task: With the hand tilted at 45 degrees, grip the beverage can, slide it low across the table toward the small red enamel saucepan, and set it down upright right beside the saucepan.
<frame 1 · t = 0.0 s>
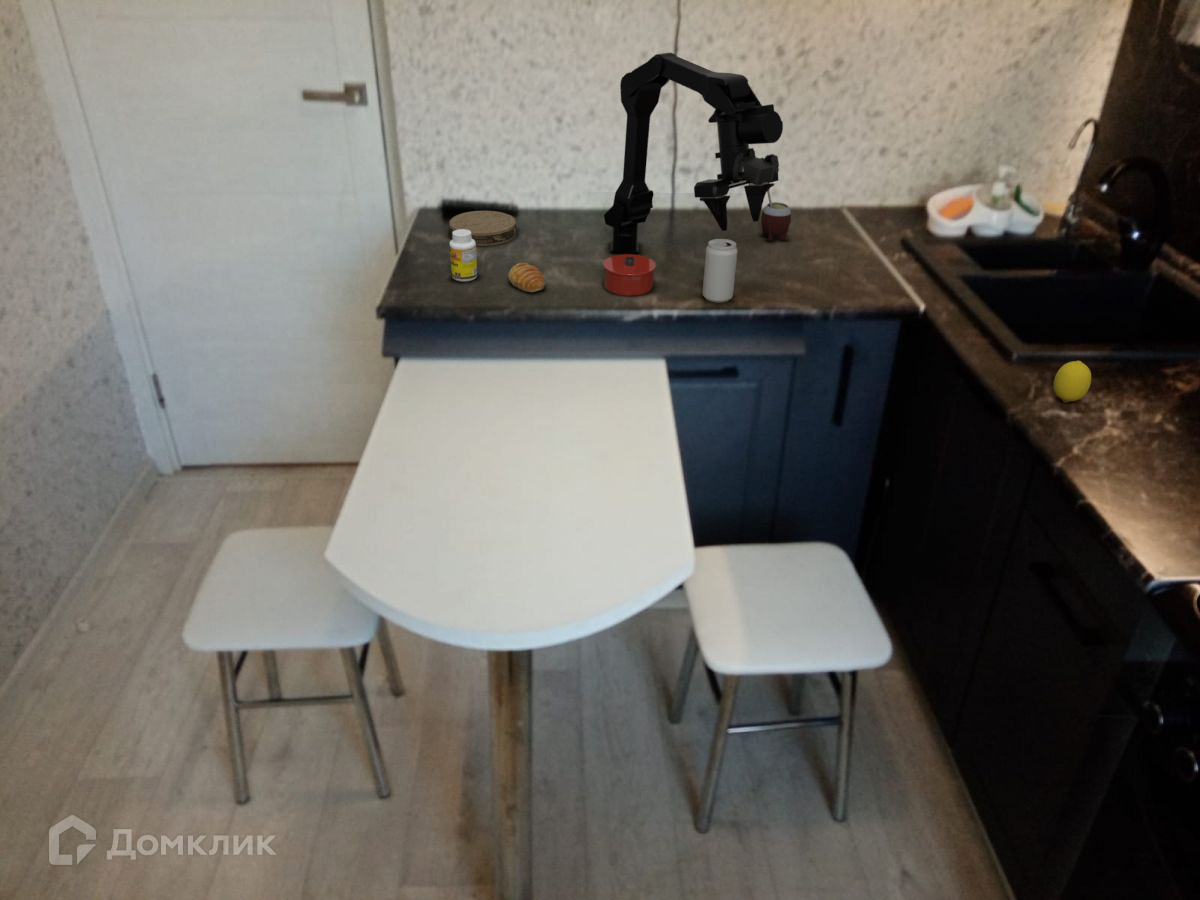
hand: (740, 226, 183), 15 cm above the worktop, tool pointing down, fingers open, 9 cm apart
pot: (628, 285, 196), on the worktop
supplement bottle: (464, 278, 198), on the worktop
beverage can: (717, 298, 191), on the worktop
mate gourd: (771, 239, 221), on the worktop
pastry: (528, 285, 195), on the worktop
lemon: (1064, 403, 158), on the worktop
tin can: (483, 234, 220), on the worktop
pot lid: (629, 265, 193), point 4 cm above the worktop, touching pot
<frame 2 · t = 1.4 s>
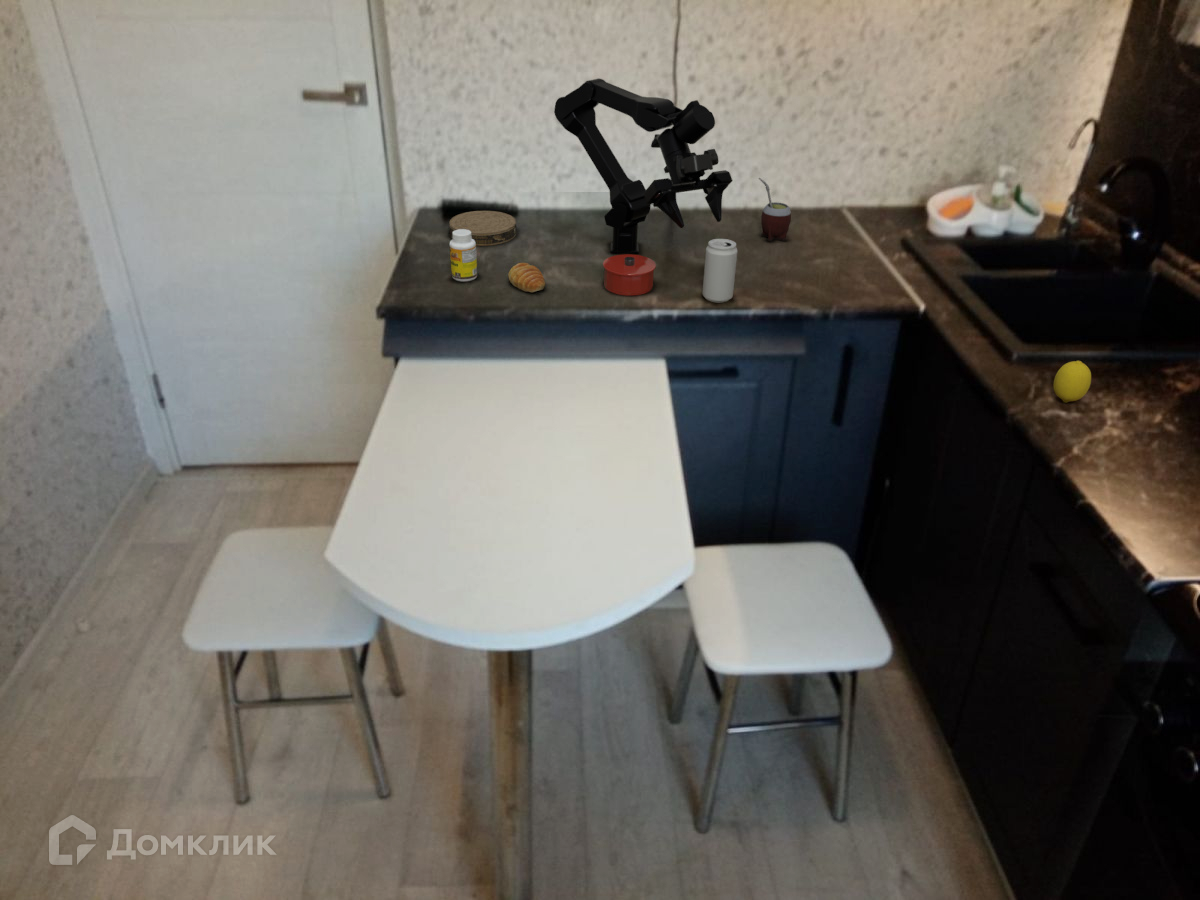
hand: (701, 224, 190), 13 cm above the worktop, tool tilted 45°, fingers open, 9 cm apart
nothing on the worktop moved.
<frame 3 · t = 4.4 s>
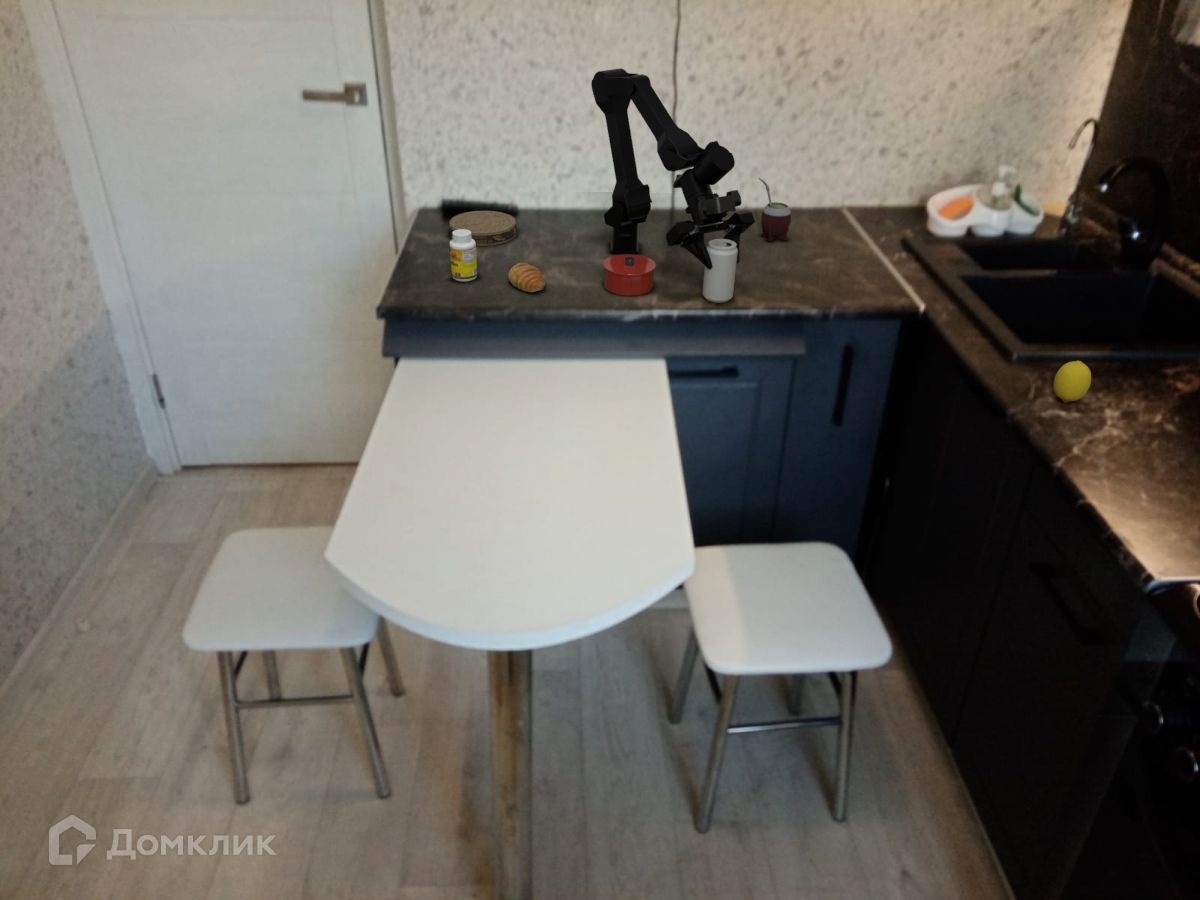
hand: (724, 266, 186), 8 cm above the worktop, tool tilted 45°, fingers closed on beverage can, 6 cm apart
beverage can: (717, 298, 191), on the worktop, touching gripper
everything else where it was.
when the fingers open (8 cm above the worktop, at t = 8.0 s): beverage can stays where it is, on the worktop.
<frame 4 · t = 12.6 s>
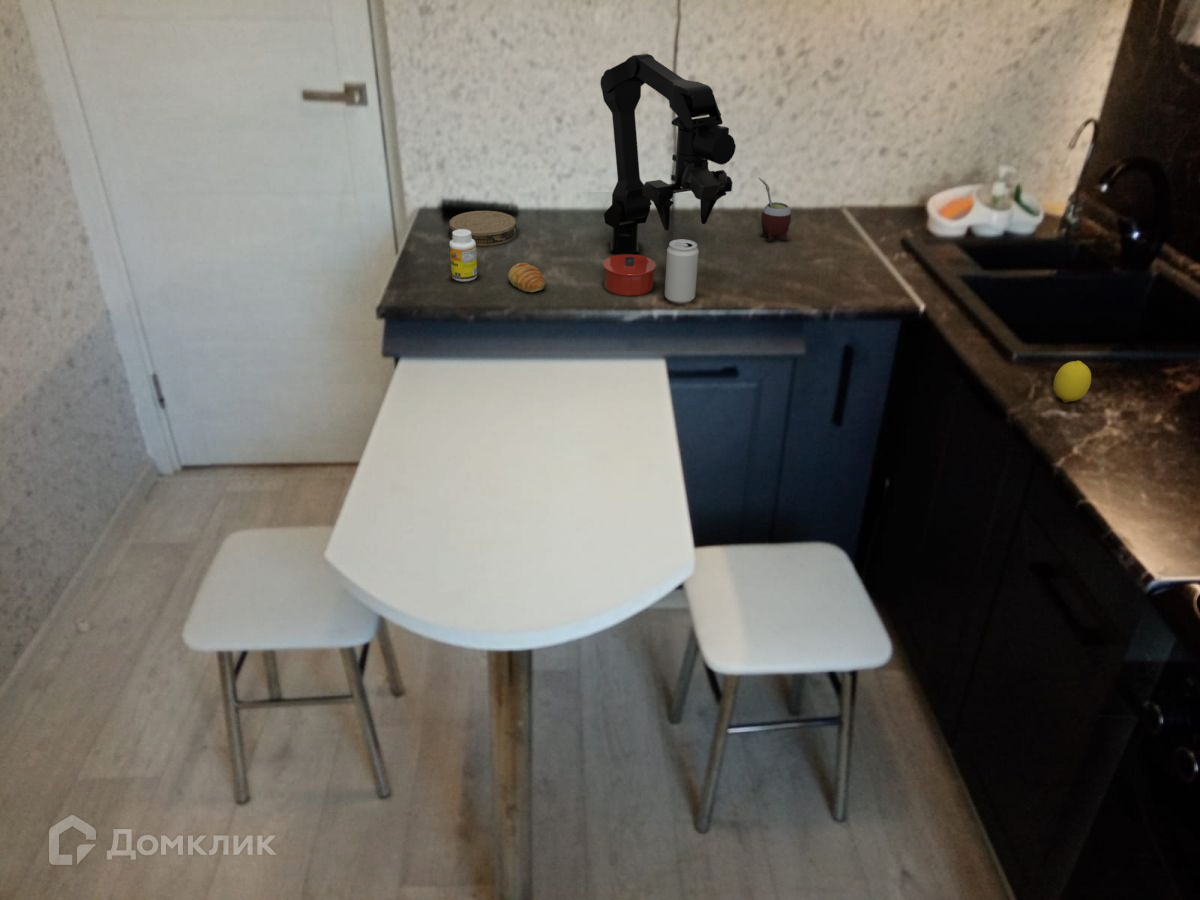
hand: (684, 227, 192), 12 cm above the worktop, tool pointing down, fingers open, 9 cm apart
beverage can: (679, 299, 191), on the worktop
everything else where it was.
at the end: beverage can 12.3 cm from the pot (horizontally); beverage can tilted 0°; the gripper is holding nothing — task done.
